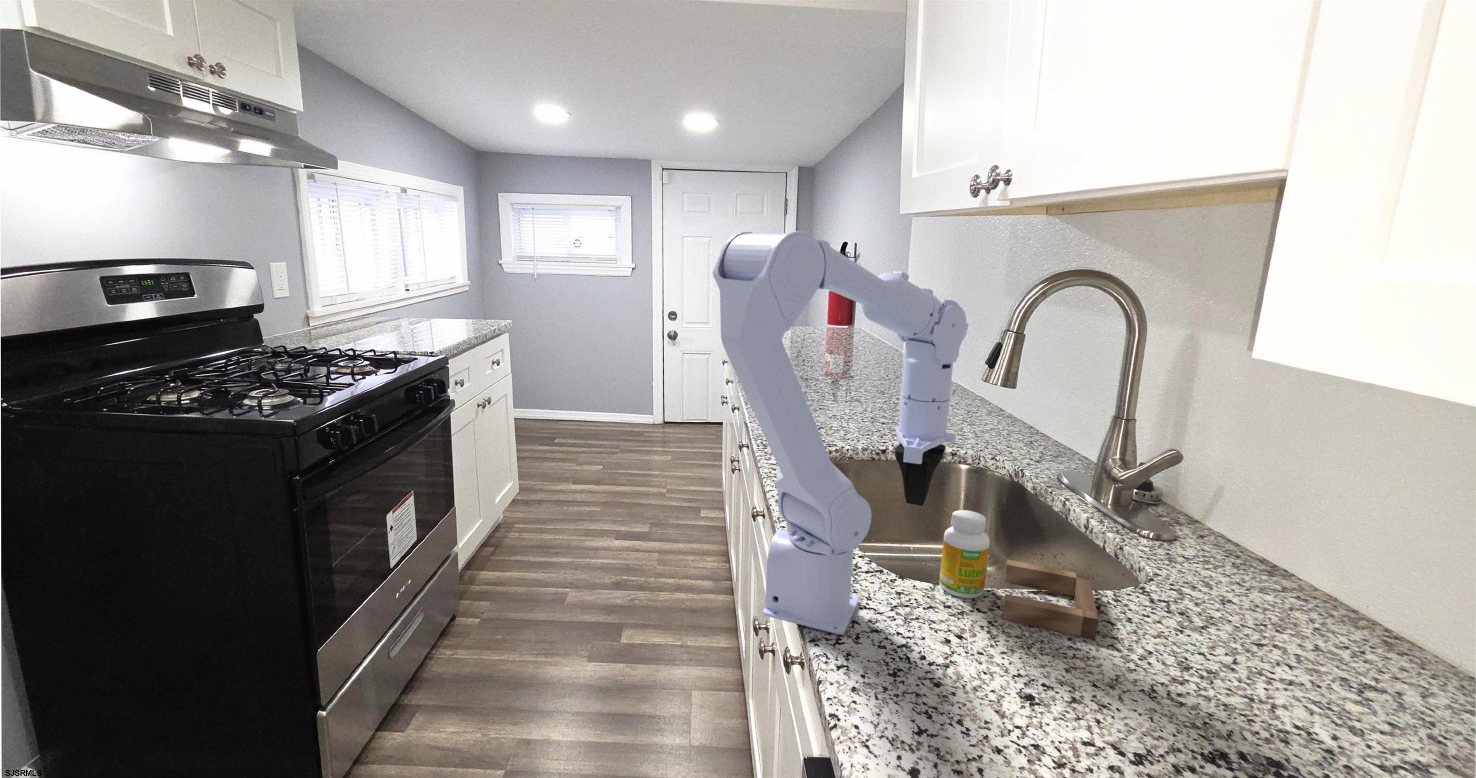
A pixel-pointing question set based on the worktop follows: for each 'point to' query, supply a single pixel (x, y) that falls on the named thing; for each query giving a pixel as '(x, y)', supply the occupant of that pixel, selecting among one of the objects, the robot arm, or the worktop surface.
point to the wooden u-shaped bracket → (1048, 614)
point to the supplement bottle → (965, 555)
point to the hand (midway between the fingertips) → (915, 501)
